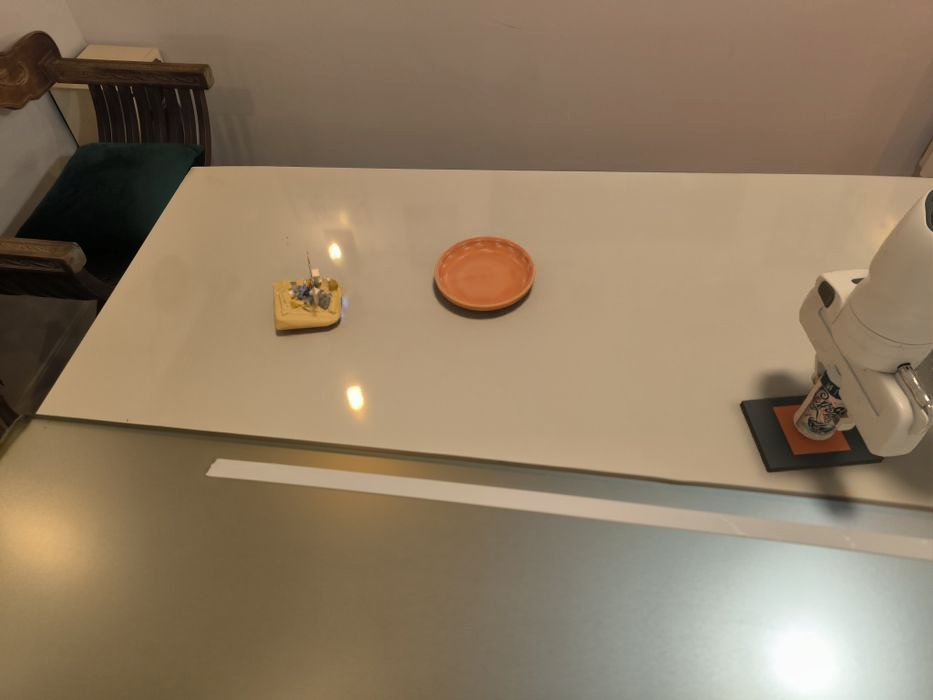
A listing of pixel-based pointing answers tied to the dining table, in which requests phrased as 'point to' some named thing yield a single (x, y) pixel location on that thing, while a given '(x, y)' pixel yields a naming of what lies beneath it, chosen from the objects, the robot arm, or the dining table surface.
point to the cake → (307, 302)
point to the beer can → (821, 407)
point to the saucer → (484, 273)
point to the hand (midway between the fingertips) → (829, 403)
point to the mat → (799, 438)
